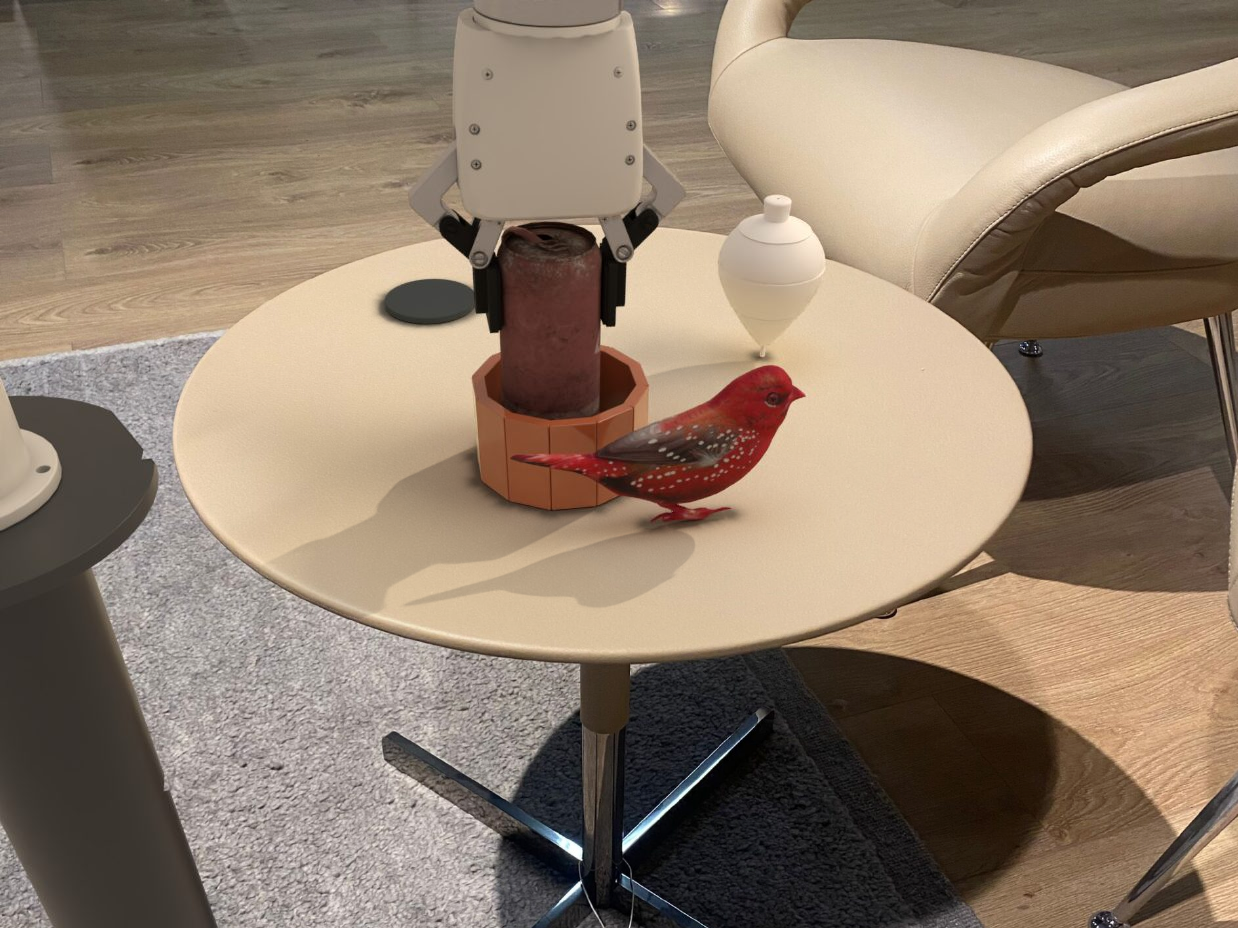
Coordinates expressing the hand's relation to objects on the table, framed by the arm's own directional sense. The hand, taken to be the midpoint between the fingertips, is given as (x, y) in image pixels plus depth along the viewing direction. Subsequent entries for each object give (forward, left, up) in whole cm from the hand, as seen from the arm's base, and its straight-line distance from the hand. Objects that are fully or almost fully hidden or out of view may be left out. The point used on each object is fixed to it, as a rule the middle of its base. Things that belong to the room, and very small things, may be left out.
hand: (549, 317), depth 71 cm
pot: (+1, 0, -10) cm, 10 cm away
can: (0, 0, -9) cm, 9 cm away
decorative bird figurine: (+5, -8, -10) cm, 14 cm away
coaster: (-6, +25, -10) cm, 28 cm away
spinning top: (+18, +12, -10) cm, 24 cm away
